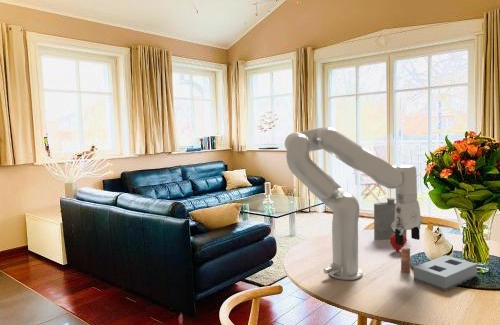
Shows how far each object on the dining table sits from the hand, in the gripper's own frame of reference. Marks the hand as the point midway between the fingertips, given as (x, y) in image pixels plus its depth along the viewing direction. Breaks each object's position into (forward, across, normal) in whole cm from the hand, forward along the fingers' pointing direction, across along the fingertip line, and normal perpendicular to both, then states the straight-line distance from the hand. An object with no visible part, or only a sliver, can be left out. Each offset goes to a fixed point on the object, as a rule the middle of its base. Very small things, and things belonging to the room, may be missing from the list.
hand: (407, 241), depth 150 cm
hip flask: (+12, +29, +31) cm, 44 cm away
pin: (+12, -1, +1) cm, 12 cm away
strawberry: (+12, +16, +17) cm, 26 cm away
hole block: (+12, +4, -12) cm, 18 cm away
